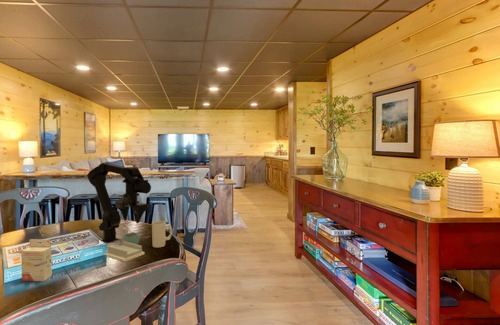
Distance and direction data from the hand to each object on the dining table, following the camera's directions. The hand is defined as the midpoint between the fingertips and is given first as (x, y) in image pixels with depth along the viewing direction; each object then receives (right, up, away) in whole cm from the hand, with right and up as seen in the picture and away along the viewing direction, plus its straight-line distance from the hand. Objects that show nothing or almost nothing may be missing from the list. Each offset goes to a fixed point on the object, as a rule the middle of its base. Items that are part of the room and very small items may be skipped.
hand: (131, 221), depth 157 cm
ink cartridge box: (-20, -14, -41) cm, 47 cm away
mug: (+16, -12, -1) cm, 20 cm away
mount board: (+3, -13, -15) cm, 19 cm away
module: (0, -12, +1) cm, 12 cm away
